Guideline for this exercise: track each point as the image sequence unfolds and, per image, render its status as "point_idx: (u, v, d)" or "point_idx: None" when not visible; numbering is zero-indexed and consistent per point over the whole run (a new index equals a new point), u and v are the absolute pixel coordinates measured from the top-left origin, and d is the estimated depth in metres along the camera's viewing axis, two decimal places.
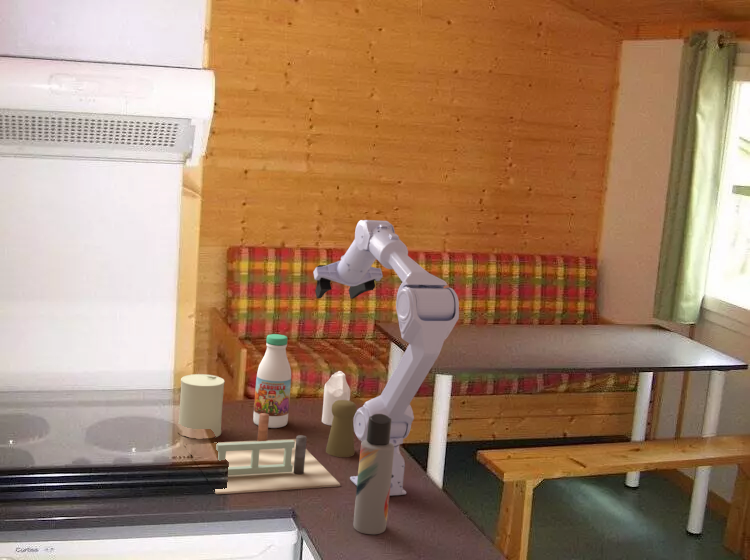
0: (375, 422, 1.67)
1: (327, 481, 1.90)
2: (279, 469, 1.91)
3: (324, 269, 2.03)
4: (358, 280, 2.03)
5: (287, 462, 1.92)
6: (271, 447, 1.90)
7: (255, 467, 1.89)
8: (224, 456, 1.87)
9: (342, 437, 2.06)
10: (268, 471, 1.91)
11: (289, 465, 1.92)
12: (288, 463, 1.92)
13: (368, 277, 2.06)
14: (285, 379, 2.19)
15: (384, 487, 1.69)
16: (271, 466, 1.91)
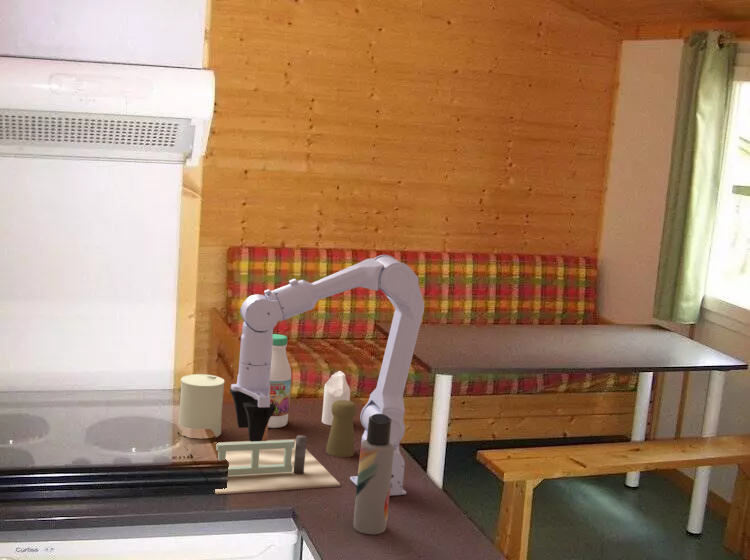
0: (375, 422, 1.67)
1: (327, 481, 1.90)
2: (279, 469, 1.91)
3: None
4: None
5: (287, 462, 1.92)
6: (271, 447, 1.90)
7: (255, 467, 1.89)
8: (224, 456, 1.87)
9: (342, 437, 2.06)
10: (268, 471, 1.91)
11: (289, 465, 1.92)
12: (288, 463, 1.92)
13: None
14: (285, 379, 2.19)
15: (384, 487, 1.69)
16: (271, 466, 1.91)
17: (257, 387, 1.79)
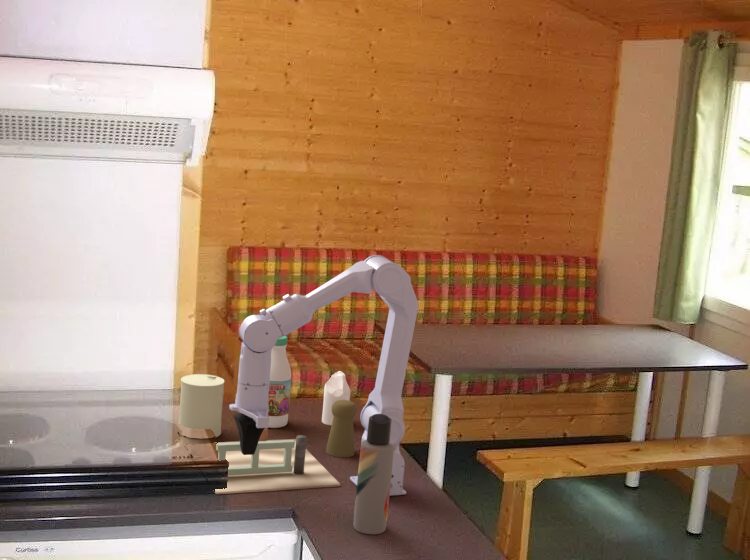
0: (375, 422, 1.67)
1: (327, 481, 1.90)
2: (279, 469, 1.91)
3: None
4: None
5: (287, 462, 1.92)
6: (271, 447, 1.90)
7: (255, 467, 1.89)
8: (224, 456, 1.87)
9: (342, 437, 2.06)
10: (268, 471, 1.91)
11: (289, 465, 1.92)
12: (288, 463, 1.92)
13: None
14: (285, 379, 2.19)
15: (384, 487, 1.69)
16: (271, 466, 1.91)
17: (255, 407, 1.79)
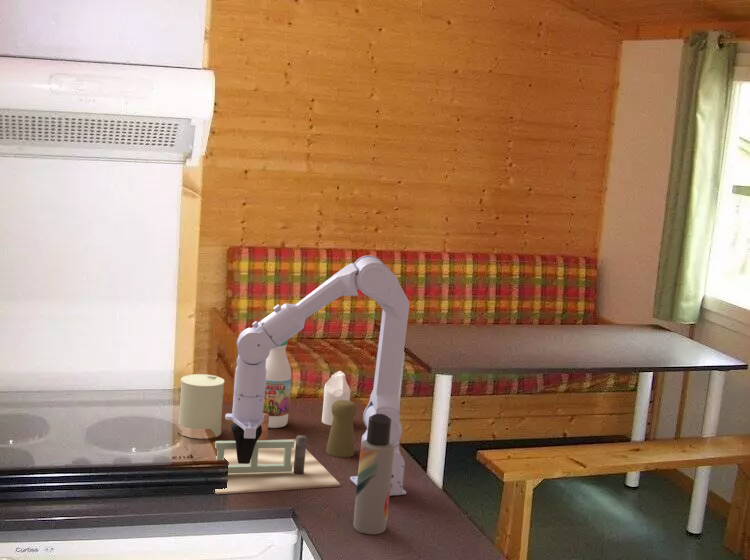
0: (375, 422, 1.67)
1: (327, 481, 1.90)
2: (278, 468, 1.92)
3: (245, 427, 1.81)
4: None
5: (287, 462, 1.92)
6: (270, 446, 1.90)
7: (254, 466, 1.90)
8: (222, 454, 1.88)
9: (342, 437, 2.06)
10: (267, 470, 1.91)
11: (289, 465, 1.92)
12: (288, 463, 1.92)
13: None
14: (285, 379, 2.19)
15: (384, 487, 1.69)
16: (270, 465, 1.91)
17: (248, 418, 1.83)
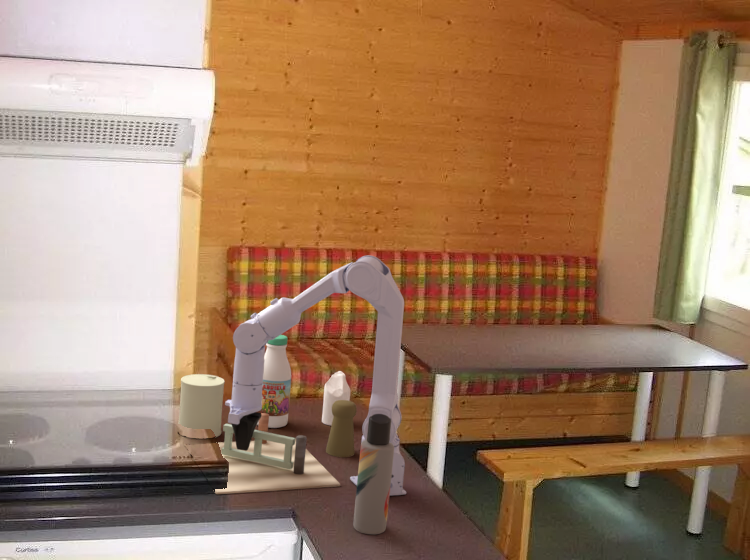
0: (375, 422, 1.67)
1: (327, 481, 1.90)
2: (277, 463, 1.94)
3: (233, 413, 1.88)
4: None
5: (286, 458, 1.94)
6: (270, 439, 1.94)
7: (256, 455, 1.96)
8: (229, 437, 1.97)
9: (342, 437, 2.06)
10: (268, 462, 1.95)
11: (287, 462, 1.94)
12: (287, 460, 1.94)
13: None
14: (285, 379, 2.19)
15: (384, 487, 1.69)
16: (272, 458, 1.95)
17: (240, 405, 1.91)
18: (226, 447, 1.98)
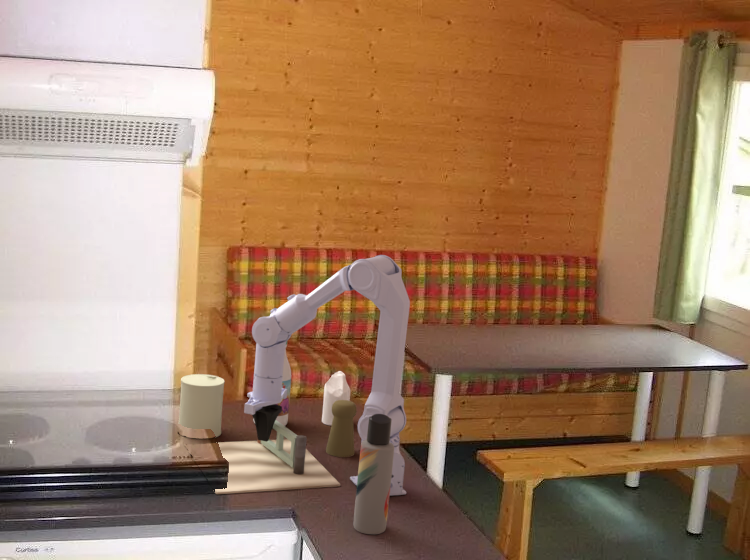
0: (375, 422, 1.67)
1: (327, 481, 1.90)
2: (286, 459, 1.97)
3: (250, 404, 1.95)
4: (281, 392, 2.00)
5: (291, 456, 1.95)
6: (284, 435, 1.98)
7: (276, 448, 2.01)
8: None
9: (342, 437, 2.06)
10: (282, 457, 1.99)
11: (291, 460, 1.95)
12: (291, 458, 1.95)
13: (280, 394, 2.03)
14: (285, 379, 2.19)
15: (384, 487, 1.69)
16: (285, 454, 1.98)
17: (259, 397, 1.97)
18: None
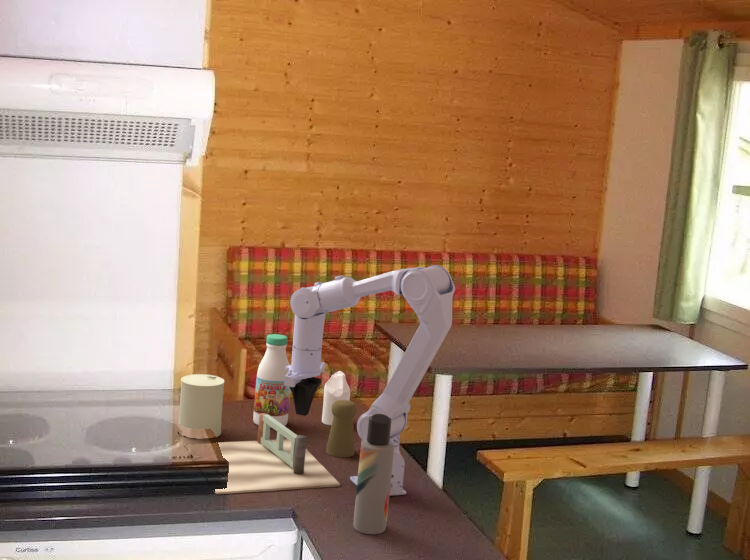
0: (375, 422, 1.67)
1: (327, 481, 1.90)
2: (286, 459, 1.97)
3: None
4: (320, 365, 1.96)
5: (291, 456, 1.95)
6: (284, 435, 1.98)
7: (277, 448, 2.01)
8: (265, 427, 2.06)
9: (342, 437, 2.06)
10: (282, 457, 1.99)
11: (291, 460, 1.95)
12: (291, 458, 1.95)
13: None
14: None
15: (384, 487, 1.69)
16: (285, 454, 1.98)
17: (298, 369, 1.94)
18: (263, 436, 2.06)
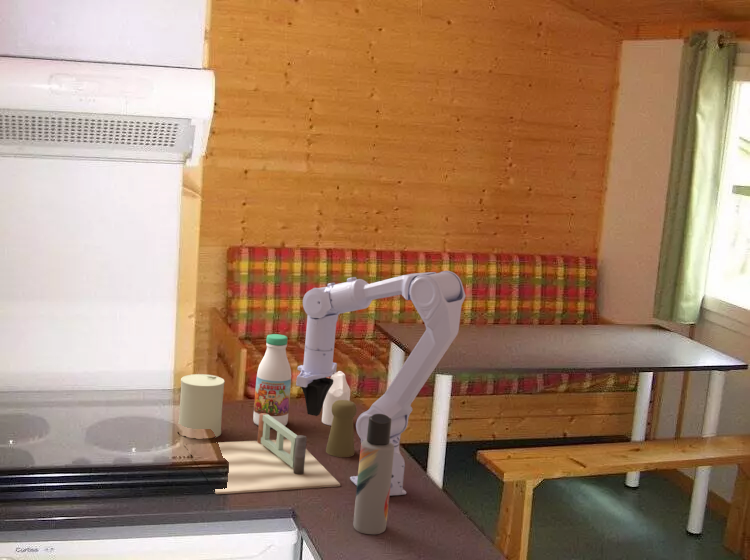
0: (375, 422, 1.67)
1: (327, 481, 1.90)
2: (286, 459, 1.97)
3: None
4: (332, 366, 1.97)
5: (291, 456, 1.95)
6: (284, 435, 1.98)
7: (277, 448, 2.01)
8: (265, 427, 2.06)
9: (342, 437, 2.06)
10: (282, 457, 1.99)
11: (291, 460, 1.95)
12: (291, 458, 1.95)
13: None
14: (285, 379, 2.19)
15: (384, 487, 1.69)
16: (285, 454, 1.98)
17: (311, 370, 1.94)
18: (263, 436, 2.06)
